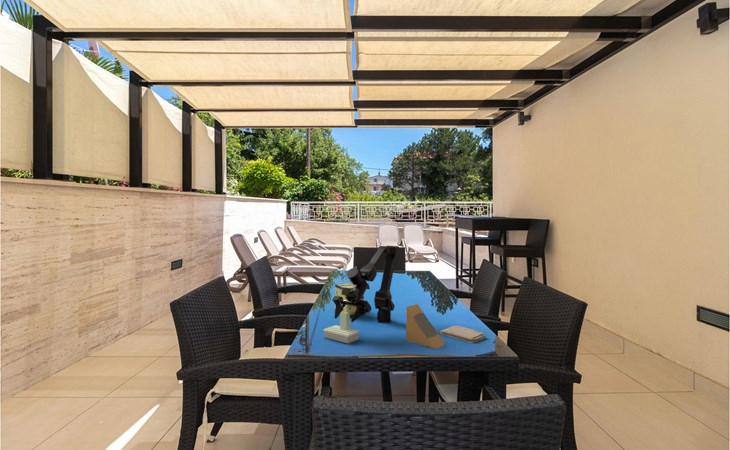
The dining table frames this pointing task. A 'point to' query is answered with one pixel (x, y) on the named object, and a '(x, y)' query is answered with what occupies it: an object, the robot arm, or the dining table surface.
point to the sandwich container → (421, 328)
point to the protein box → (338, 293)
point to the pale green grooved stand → (343, 326)
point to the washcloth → (463, 334)
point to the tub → (341, 337)
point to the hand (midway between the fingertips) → (343, 319)
